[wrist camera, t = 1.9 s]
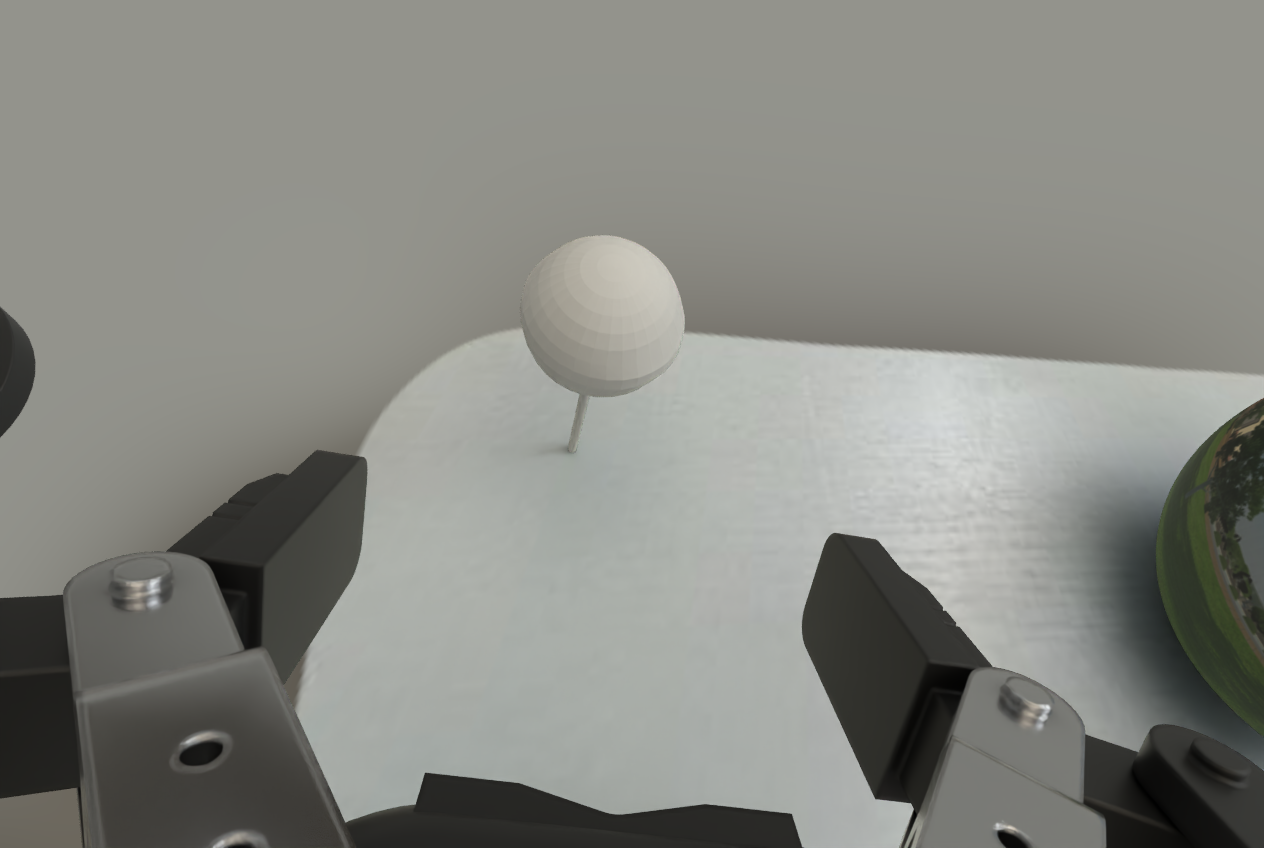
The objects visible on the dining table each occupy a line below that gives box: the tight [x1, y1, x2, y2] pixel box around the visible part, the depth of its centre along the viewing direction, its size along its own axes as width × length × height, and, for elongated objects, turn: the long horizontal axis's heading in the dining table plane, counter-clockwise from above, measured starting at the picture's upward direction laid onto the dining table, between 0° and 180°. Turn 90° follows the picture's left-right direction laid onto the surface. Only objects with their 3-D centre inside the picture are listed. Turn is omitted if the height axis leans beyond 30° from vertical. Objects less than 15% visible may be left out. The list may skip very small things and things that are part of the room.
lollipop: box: [520, 235, 685, 453], centre depth 29 cm, size 6×6×15 cm
